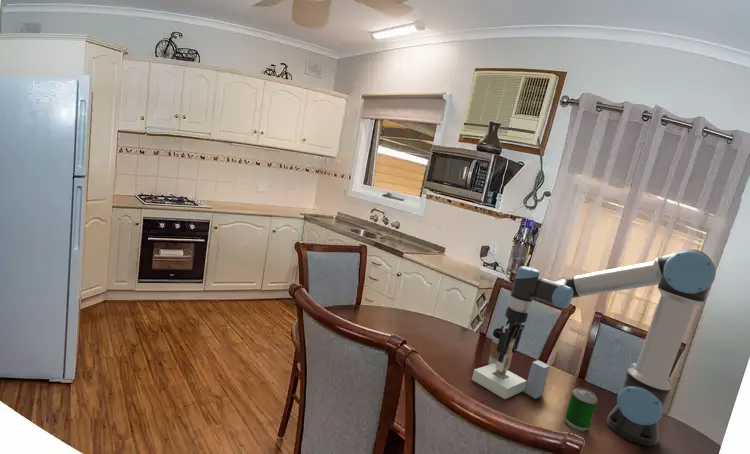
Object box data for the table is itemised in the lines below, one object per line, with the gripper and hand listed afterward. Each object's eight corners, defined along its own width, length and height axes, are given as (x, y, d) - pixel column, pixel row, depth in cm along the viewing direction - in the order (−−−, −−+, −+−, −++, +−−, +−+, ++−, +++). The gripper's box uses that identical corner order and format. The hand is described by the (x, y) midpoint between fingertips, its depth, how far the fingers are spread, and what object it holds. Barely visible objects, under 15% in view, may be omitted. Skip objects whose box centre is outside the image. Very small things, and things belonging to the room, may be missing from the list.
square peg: (541, 395, 160) (549, 365, 158) (535, 398, 156) (544, 368, 155) (529, 389, 163) (538, 360, 161) (524, 392, 160) (532, 362, 158)
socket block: (524, 390, 161) (526, 380, 160) (504, 399, 151) (507, 388, 151) (491, 372, 171) (494, 362, 170) (471, 379, 161) (474, 369, 160)
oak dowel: (507, 374, 160) (516, 339, 158) (502, 376, 158) (511, 340, 156) (498, 369, 163) (508, 335, 161) (493, 371, 160) (503, 336, 158)
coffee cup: (507, 372, 174) (516, 337, 172) (485, 366, 175) (494, 331, 173) (505, 363, 182) (513, 330, 180) (484, 358, 183) (493, 324, 181)
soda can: (587, 436, 138) (597, 401, 137) (562, 424, 142) (572, 391, 140) (589, 426, 145) (599, 393, 143) (565, 415, 149) (575, 383, 147)
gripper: (519, 303, 165) (504, 360, 169) (497, 306, 153) (481, 367, 157) (538, 310, 160) (521, 369, 163) (516, 315, 148) (499, 378, 152)
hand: (501, 368), depth 160 cm, fingers closed on oak dowel, 3 cm apart
